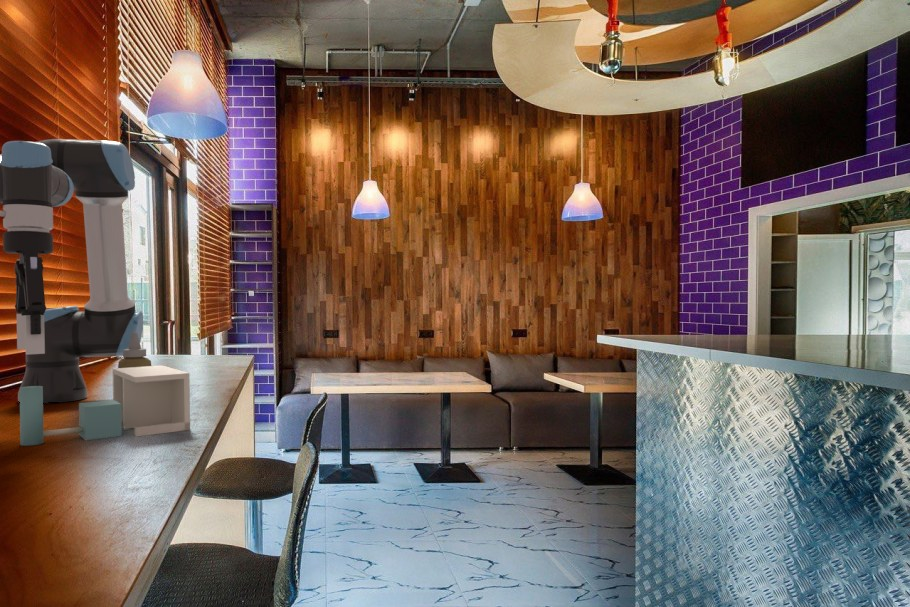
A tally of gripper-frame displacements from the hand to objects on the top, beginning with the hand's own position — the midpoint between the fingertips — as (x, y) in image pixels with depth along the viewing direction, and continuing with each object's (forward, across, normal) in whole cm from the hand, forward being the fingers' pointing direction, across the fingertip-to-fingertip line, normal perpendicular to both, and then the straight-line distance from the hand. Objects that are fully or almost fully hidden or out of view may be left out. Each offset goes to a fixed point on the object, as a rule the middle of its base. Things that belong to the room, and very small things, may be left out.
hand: (30, 351), depth 123 cm
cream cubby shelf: (+16, -4, +21) cm, 27 cm away
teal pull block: (+16, 0, +6) cm, 17 cm away
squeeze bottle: (+17, -20, +22) cm, 34 cm away
